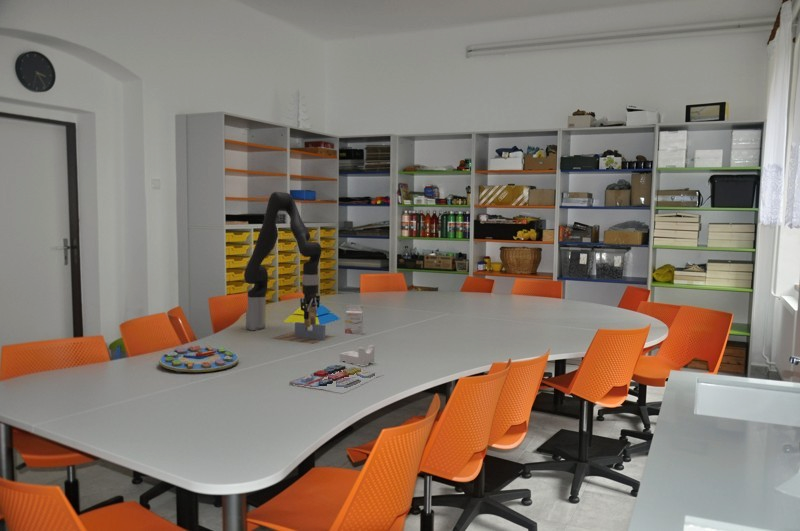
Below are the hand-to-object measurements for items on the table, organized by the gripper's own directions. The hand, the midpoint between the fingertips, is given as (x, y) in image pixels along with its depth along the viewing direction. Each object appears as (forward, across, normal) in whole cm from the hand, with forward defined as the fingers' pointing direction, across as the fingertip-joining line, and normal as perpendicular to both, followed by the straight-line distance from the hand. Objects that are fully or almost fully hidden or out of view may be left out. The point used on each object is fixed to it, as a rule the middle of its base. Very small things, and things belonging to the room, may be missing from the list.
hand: (310, 318), depth 311 cm
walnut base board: (+11, 0, -4) cm, 12 cm away
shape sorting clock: (+11, +63, -12) cm, 65 cm away
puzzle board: (+12, +56, +48) cm, 75 cm away
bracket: (+11, +29, +41) cm, 51 cm away
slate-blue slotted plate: (+10, 0, 0) cm, 10 cm away
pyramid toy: (+12, -48, -29) cm, 57 cm away
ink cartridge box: (+11, -24, +11) cm, 29 cm away
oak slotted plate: (+4, 0, 0) cm, 4 cm away
